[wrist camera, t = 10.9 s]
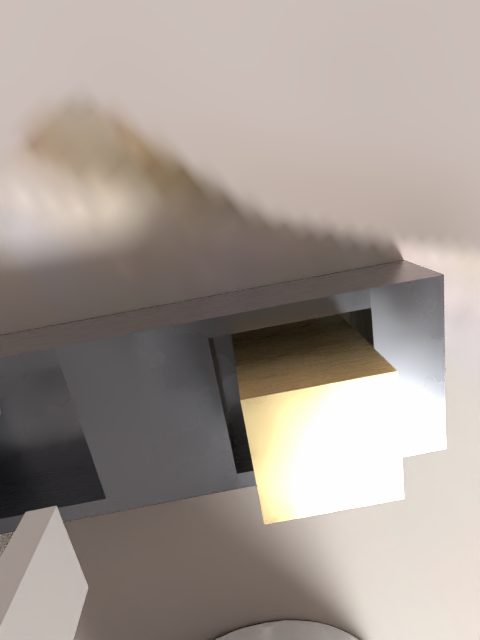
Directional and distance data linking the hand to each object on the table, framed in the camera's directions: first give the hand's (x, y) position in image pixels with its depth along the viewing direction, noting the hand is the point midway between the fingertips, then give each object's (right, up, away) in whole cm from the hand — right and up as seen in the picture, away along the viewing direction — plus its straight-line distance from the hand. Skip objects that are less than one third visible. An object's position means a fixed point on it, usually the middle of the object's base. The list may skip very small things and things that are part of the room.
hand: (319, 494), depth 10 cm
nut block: (0, +3, +7) cm, 8 cm away
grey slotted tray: (-5, +2, +7) cm, 9 cm away
